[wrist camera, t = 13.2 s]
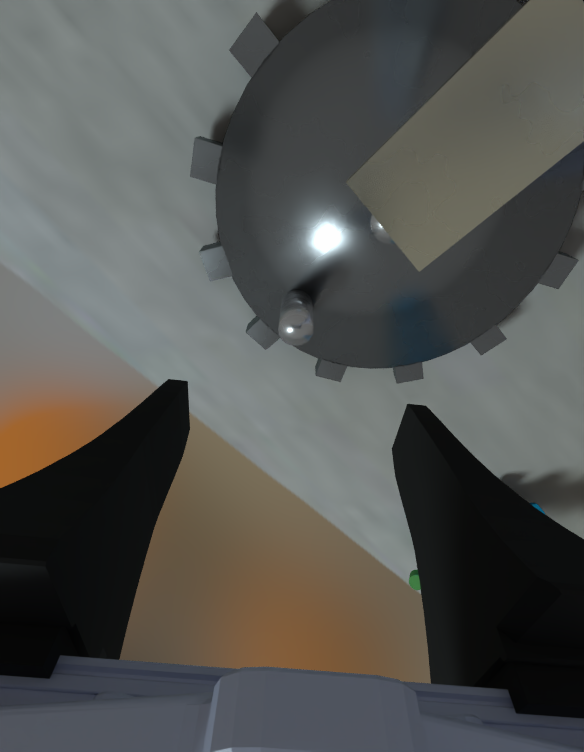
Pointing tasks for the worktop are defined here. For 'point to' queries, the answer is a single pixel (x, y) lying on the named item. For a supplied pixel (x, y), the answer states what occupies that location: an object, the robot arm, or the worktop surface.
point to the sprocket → (399, 175)
